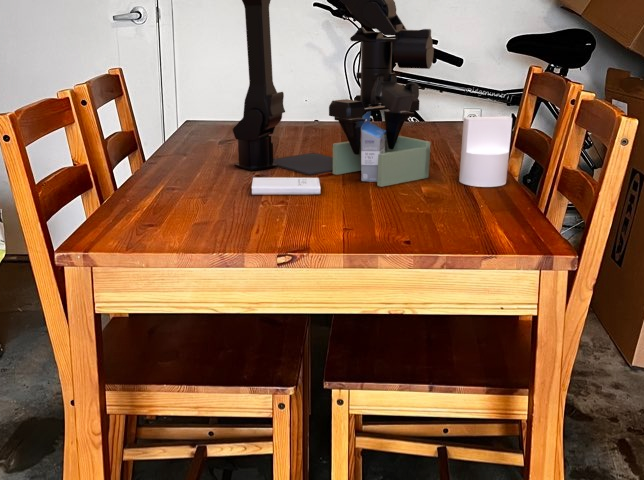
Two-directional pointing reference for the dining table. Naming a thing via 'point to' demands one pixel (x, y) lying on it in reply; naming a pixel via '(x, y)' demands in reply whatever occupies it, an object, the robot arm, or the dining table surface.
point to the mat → (306, 163)
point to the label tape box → (371, 148)
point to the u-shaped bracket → (388, 161)
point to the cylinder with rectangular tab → (485, 151)
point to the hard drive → (285, 186)
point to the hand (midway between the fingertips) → (374, 151)
